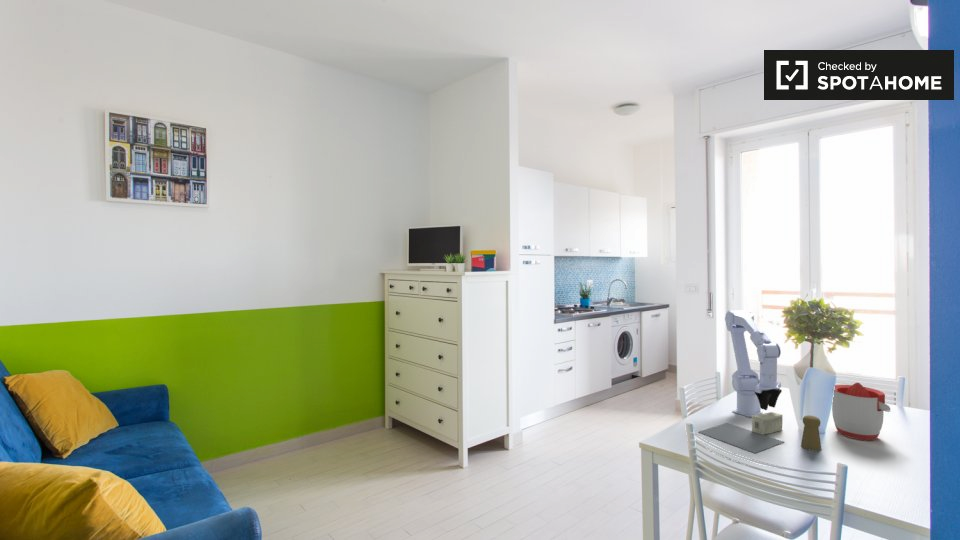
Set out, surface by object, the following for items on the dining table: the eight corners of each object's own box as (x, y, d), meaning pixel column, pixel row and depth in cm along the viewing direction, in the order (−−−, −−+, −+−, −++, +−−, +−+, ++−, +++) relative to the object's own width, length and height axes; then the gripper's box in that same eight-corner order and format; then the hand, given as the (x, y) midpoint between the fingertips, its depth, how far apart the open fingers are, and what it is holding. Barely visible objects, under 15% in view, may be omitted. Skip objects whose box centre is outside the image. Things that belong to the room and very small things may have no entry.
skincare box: (751, 431, 182) (771, 427, 187) (762, 435, 178) (782, 430, 183) (751, 415, 182) (771, 411, 187) (763, 418, 178) (782, 414, 183)
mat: (727, 423, 191) (727, 422, 191) (784, 442, 172) (784, 441, 172) (698, 432, 182) (698, 431, 182) (755, 453, 163) (755, 452, 163)
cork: (815, 452, 164) (816, 420, 163) (797, 445, 169) (797, 415, 168) (825, 448, 166) (825, 417, 166) (806, 442, 172) (807, 412, 171)
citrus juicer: (880, 448, 165) (881, 392, 164) (823, 432, 180) (824, 381, 179) (897, 438, 174) (898, 385, 173) (841, 424, 188) (842, 374, 187)
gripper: (768, 378, 178) (767, 414, 178) (789, 373, 185) (788, 407, 185) (749, 374, 184) (749, 409, 184) (770, 369, 191) (770, 402, 192)
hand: (767, 408), depth 185 cm, fingers open, 5 cm apart
